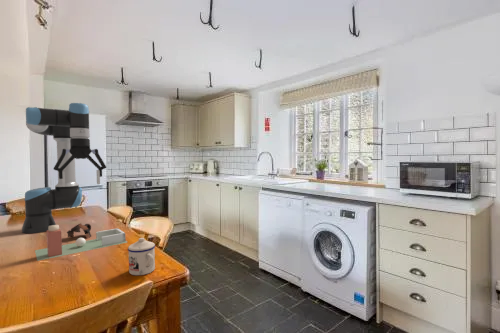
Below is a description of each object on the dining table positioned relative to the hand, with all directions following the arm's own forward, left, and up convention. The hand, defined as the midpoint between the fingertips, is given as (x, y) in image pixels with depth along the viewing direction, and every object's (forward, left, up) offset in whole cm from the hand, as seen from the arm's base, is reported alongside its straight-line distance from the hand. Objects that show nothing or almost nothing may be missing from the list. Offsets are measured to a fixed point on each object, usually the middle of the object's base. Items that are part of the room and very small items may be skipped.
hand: (81, 185), depth 124 cm
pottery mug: (-16, +2, -28) cm, 33 cm away
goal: (+1, +11, -28) cm, 30 cm away
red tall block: (+5, -11, -28) cm, 30 cm away
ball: (+1, -1, -26) cm, 26 cm away
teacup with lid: (+47, +11, -28) cm, 56 cm away
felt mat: (+1, 0, -28) cm, 28 cm away
